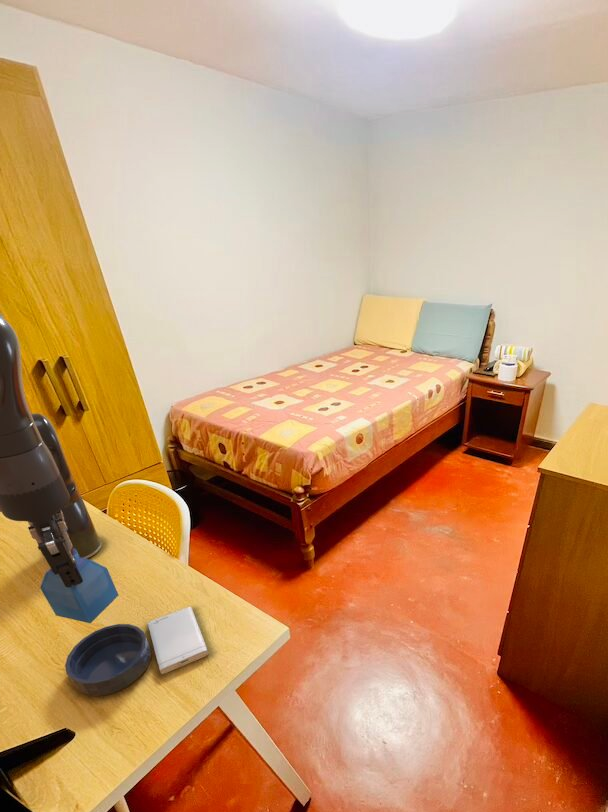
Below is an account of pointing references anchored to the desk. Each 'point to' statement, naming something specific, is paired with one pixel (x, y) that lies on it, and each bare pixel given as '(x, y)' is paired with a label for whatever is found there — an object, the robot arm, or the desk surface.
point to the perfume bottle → (80, 591)
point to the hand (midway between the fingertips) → (71, 571)
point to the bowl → (108, 659)
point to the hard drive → (177, 640)
